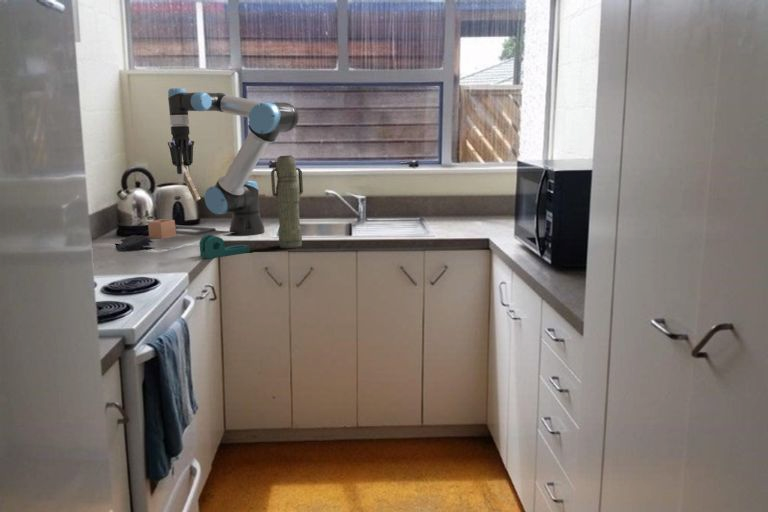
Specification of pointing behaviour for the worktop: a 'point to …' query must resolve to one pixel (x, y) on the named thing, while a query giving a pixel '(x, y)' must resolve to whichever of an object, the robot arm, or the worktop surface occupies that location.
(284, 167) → the thermos
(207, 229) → the charcoal tray
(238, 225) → the robot arm
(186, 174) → the beech stick
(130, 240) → the dark slate chunk
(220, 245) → the bracket
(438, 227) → the worktop surface
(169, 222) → the orange open cube box
